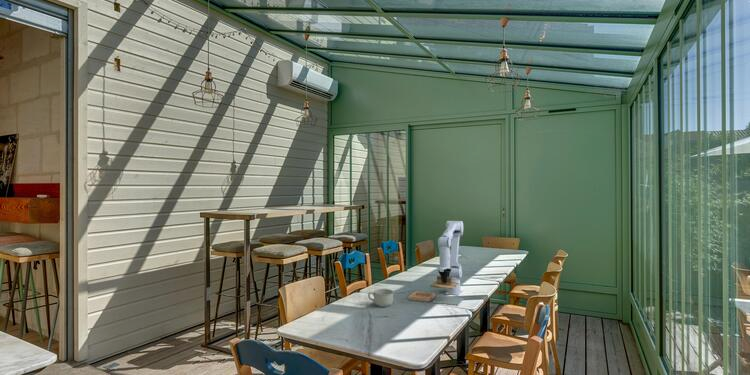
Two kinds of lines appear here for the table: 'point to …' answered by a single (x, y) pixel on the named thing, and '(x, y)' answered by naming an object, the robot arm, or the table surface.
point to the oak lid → (447, 285)
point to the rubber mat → (448, 300)
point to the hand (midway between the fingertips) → (445, 282)
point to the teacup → (382, 297)
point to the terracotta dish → (421, 296)
